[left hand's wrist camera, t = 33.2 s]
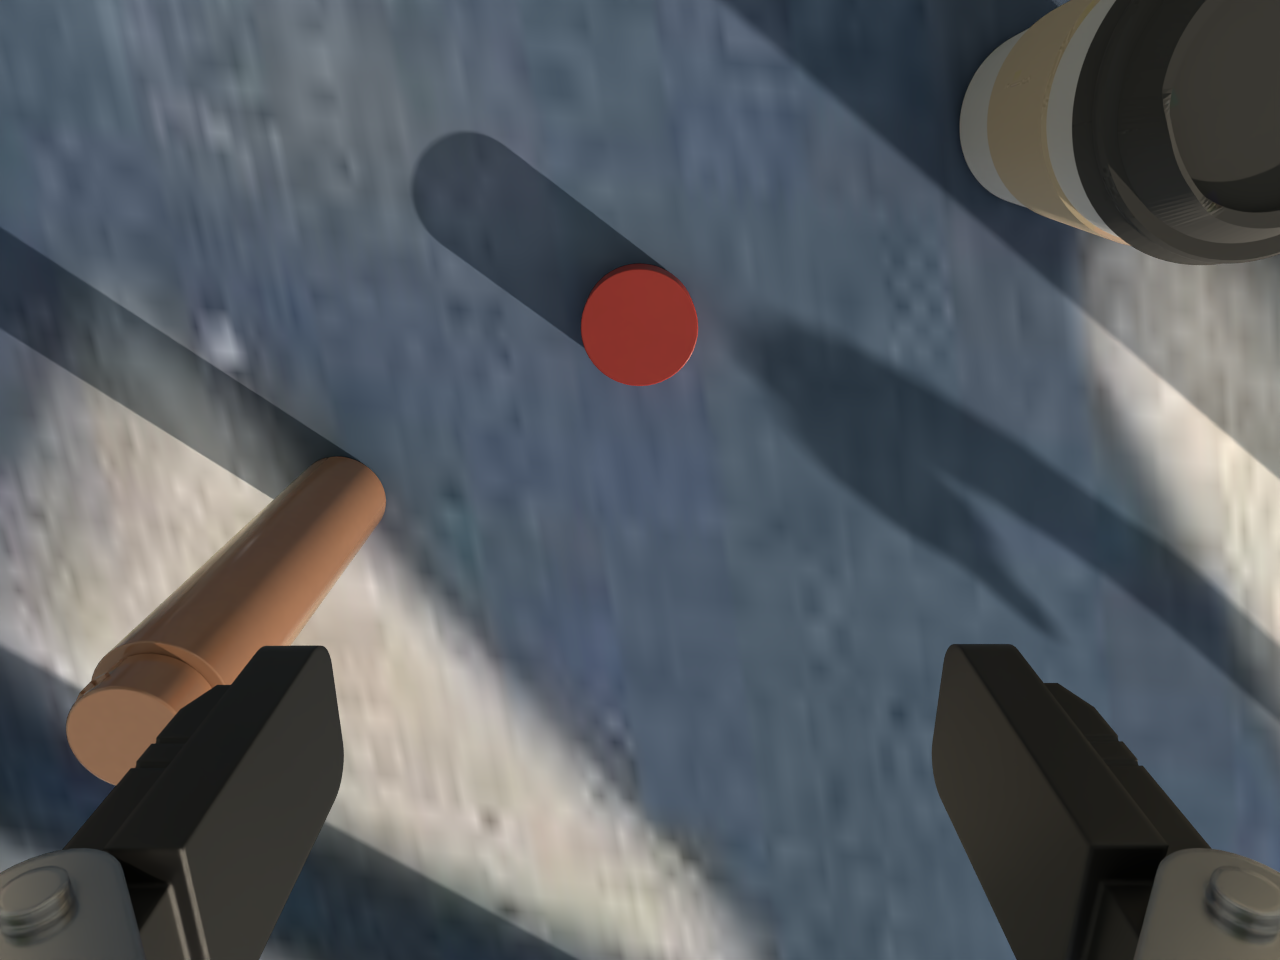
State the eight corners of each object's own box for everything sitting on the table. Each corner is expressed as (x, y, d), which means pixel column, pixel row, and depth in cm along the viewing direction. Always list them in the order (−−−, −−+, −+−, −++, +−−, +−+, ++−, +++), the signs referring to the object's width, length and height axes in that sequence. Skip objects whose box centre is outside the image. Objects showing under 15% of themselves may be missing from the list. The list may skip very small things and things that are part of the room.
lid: (717, 330, 39) (721, 339, 37) (629, 396, 40) (629, 408, 38) (650, 239, 38) (650, 243, 36) (560, 310, 39) (556, 318, 37)
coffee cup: (1101, -56, 34) (1431, -211, 20) (1186, 152, 36) (1531, 147, 22) (893, 83, 35) (1060, 33, 21) (989, 273, 38) (1194, 339, 24)
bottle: (280, 495, 42) (21, 737, 24) (336, 438, 41) (108, 647, 23) (347, 553, 43) (145, 825, 25) (404, 499, 42) (234, 742, 24)
